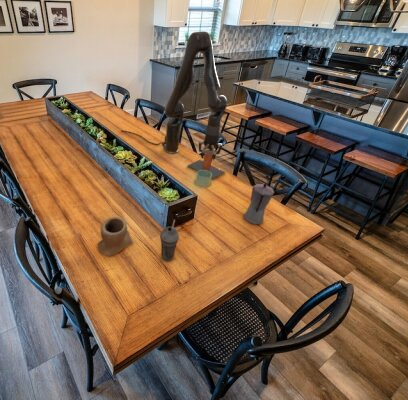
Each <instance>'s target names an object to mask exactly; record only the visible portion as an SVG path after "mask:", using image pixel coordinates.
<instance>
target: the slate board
mask: <svg viewBox="0 0 408 400" xmlns="http://www.w3.org/2000/svg"><path fill="white" fill-rule="evenodd" d="M202 166H203V160H201V159H198V160H196V161H194V162H191V163H189V164H187V167H188V168H190V169H191V170H193V171H195V172H197V171H199V170H204V169H202ZM207 171H210V172H211V173H212V178H211V181H213V180H216V179H217V178H219V177H221V176H222V175H224V174H225V173H226V171H225V170H222V169H220V168H218V167H216V166H214V165H213V164H211V168H210V170H207Z"/></svg>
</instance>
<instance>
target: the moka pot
mask: <svg viewBox="0 0 408 400" xmlns="http://www.w3.org/2000/svg"><path fill="white" fill-rule="evenodd" d="M274 194H275V191H274V189H273V188H272V187H270V186H268V184H266V183H262V184H261V183H256V184H254V185H253V186H252V190H251V196H250V204H249V206H248V207H247V209H246V211H245V213H244V217H243V218H244V219H245V220H246V221H247V223H250V224H252V225H260V224H262V223H263V221H264V217H265V211H266V208H267V206H268V205H269V203H270V201H271V200H272V198H273V195H274Z"/></svg>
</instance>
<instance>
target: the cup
mask: <svg viewBox="0 0 408 400" xmlns="http://www.w3.org/2000/svg"><path fill="white" fill-rule="evenodd" d="M211 178H212V173H211V172H210V171H207V170H199V171H196V175H195V181H194V182H195V184H196V185H197V186H199V187H203V188H206V187H209V186H210V185H211V182H212V179H211Z"/></svg>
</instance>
